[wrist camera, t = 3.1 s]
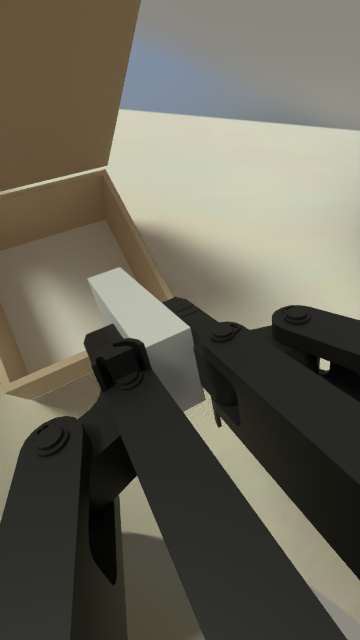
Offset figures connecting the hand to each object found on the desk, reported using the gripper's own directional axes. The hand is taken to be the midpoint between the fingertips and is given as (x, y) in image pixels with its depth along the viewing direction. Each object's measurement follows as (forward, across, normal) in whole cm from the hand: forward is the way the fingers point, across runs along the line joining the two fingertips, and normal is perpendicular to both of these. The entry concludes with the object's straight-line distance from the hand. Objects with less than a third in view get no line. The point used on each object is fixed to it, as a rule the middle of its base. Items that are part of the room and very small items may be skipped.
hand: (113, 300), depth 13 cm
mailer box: (+22, -1, -8) cm, 23 cm away
